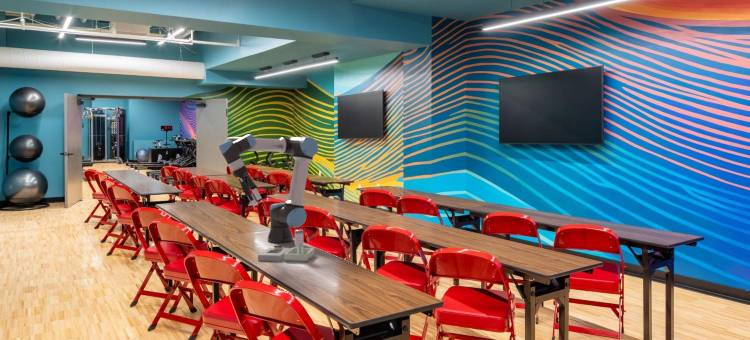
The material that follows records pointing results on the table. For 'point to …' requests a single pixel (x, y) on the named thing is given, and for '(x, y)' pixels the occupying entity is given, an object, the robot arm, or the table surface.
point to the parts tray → (298, 255)
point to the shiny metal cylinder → (299, 241)
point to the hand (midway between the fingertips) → (257, 202)
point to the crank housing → (273, 254)
